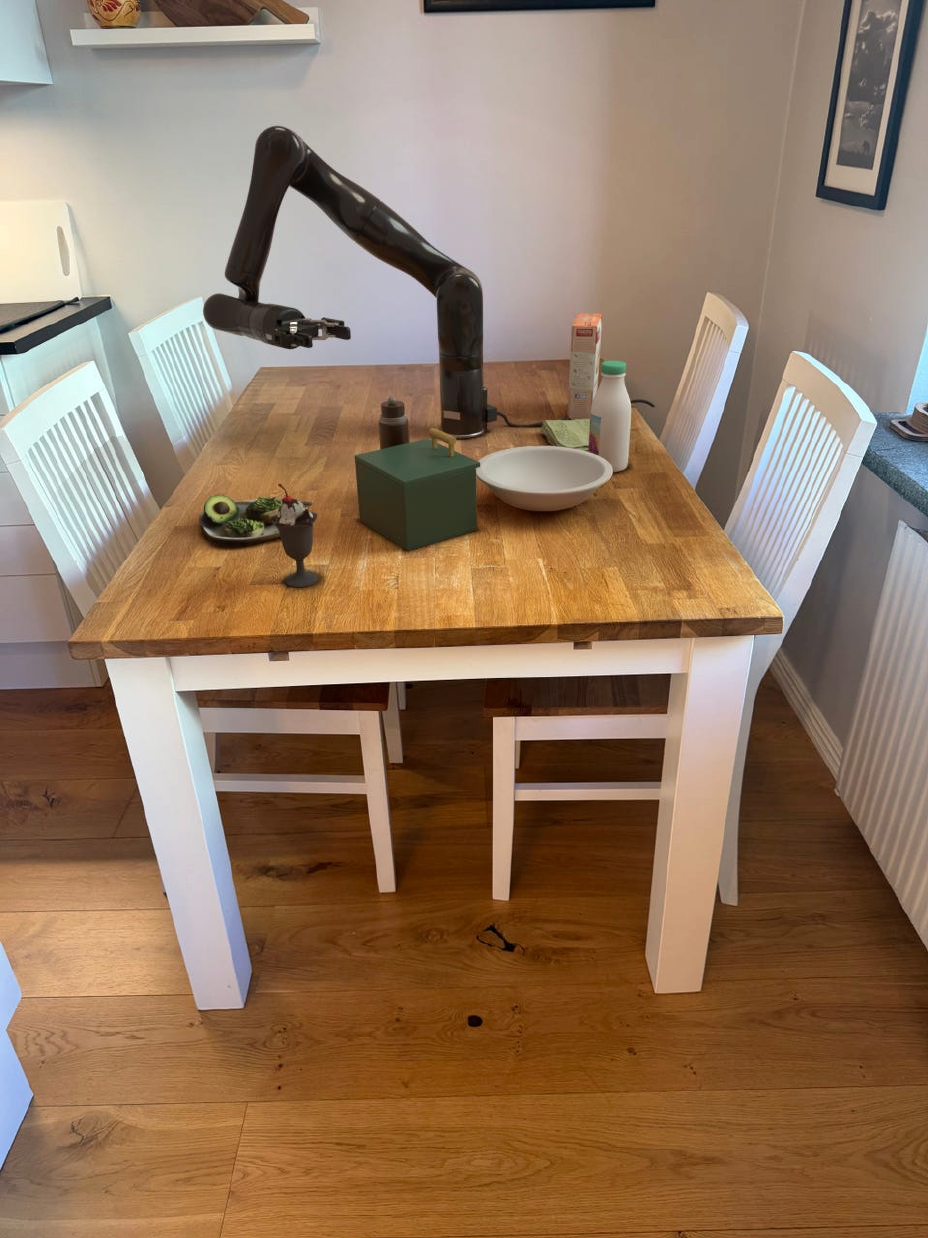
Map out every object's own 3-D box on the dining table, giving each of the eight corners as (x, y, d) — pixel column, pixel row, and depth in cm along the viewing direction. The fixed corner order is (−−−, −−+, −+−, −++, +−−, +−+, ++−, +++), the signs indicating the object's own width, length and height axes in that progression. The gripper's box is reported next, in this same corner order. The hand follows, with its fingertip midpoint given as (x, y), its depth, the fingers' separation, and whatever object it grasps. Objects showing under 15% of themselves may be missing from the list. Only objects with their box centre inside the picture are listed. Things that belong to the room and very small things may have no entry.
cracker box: (593, 422, 204) (598, 325, 194) (566, 421, 205) (569, 324, 195) (598, 404, 216) (603, 312, 206) (572, 403, 217) (576, 311, 207)
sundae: (280, 571, 141) (268, 478, 133) (325, 569, 141) (315, 476, 134) (276, 591, 135) (264, 495, 128) (322, 588, 135) (312, 492, 128)
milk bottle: (630, 462, 181) (638, 359, 171) (623, 475, 175) (631, 369, 165) (592, 458, 183) (597, 356, 174) (583, 471, 177) (588, 366, 167)
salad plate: (300, 496, 168) (298, 472, 166) (330, 532, 154) (327, 506, 151) (193, 515, 161) (188, 490, 159) (213, 554, 147) (209, 527, 144)
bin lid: (427, 442, 160) (426, 418, 158) (480, 467, 148) (480, 441, 146) (354, 459, 152) (352, 435, 150) (404, 486, 141) (402, 460, 139)
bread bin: (426, 502, 164) (423, 443, 159) (477, 530, 153) (476, 468, 148) (359, 520, 158) (354, 460, 152) (407, 551, 146) (404, 486, 141)
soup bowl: (607, 534, 151) (609, 496, 148) (463, 525, 155) (462, 488, 152) (613, 482, 171) (615, 448, 168) (486, 476, 175) (486, 442, 172)
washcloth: (560, 459, 183) (560, 443, 182) (538, 432, 198) (538, 418, 197) (623, 454, 185) (624, 439, 183) (596, 428, 200) (597, 414, 199)
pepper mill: (402, 488, 171) (397, 390, 162) (417, 497, 167) (412, 396, 158) (378, 495, 168) (371, 395, 159) (392, 503, 164) (386, 402, 155)
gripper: (243, 310, 169) (295, 322, 158) (306, 299, 177) (359, 309, 167) (248, 352, 172) (300, 366, 162) (310, 339, 181) (362, 351, 171)
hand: (330, 337), depth 165 cm, fingers open, 8 cm apart
